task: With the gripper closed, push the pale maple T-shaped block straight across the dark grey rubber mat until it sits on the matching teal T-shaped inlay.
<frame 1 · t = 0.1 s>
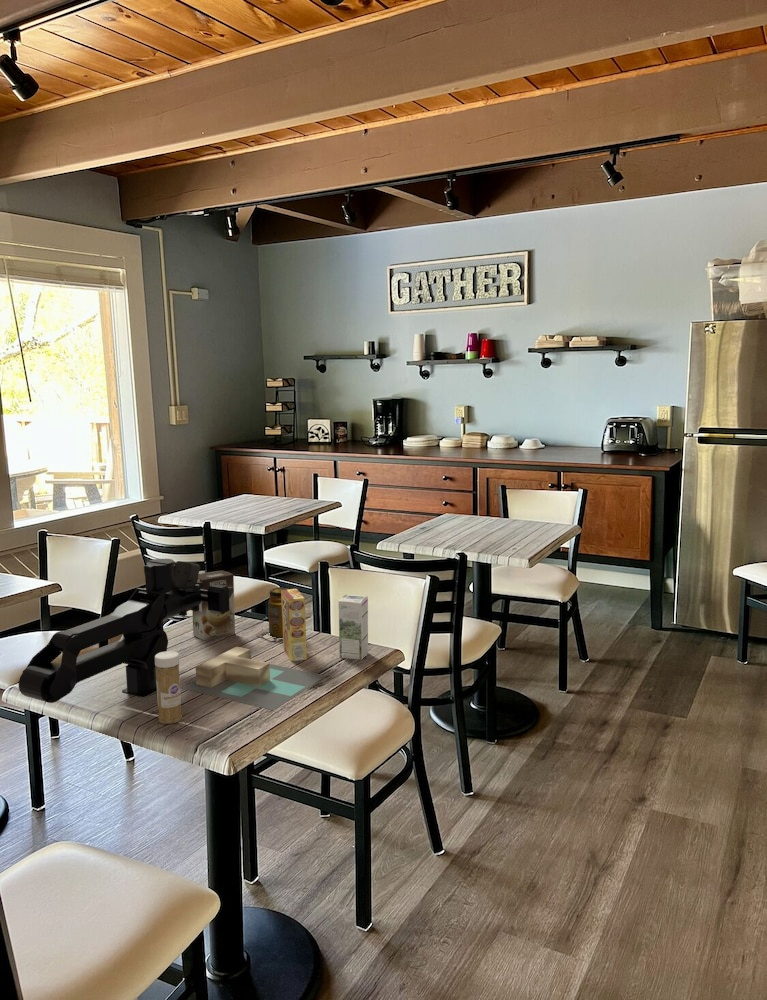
hand: (217, 586, 185), 17 cm above the table, tool horizontal, fingers open, 9 cm apart
push mat: (255, 683, 169), on the table
coffee box: (214, 635, 201), on the table
sprinkles bottle: (170, 720, 152), on the table
candy box: (294, 656, 186), on the table
condiment: (277, 636, 200), on the table
syrup box: (354, 657, 185), on the table
t block: (233, 676, 172), resting on push mat
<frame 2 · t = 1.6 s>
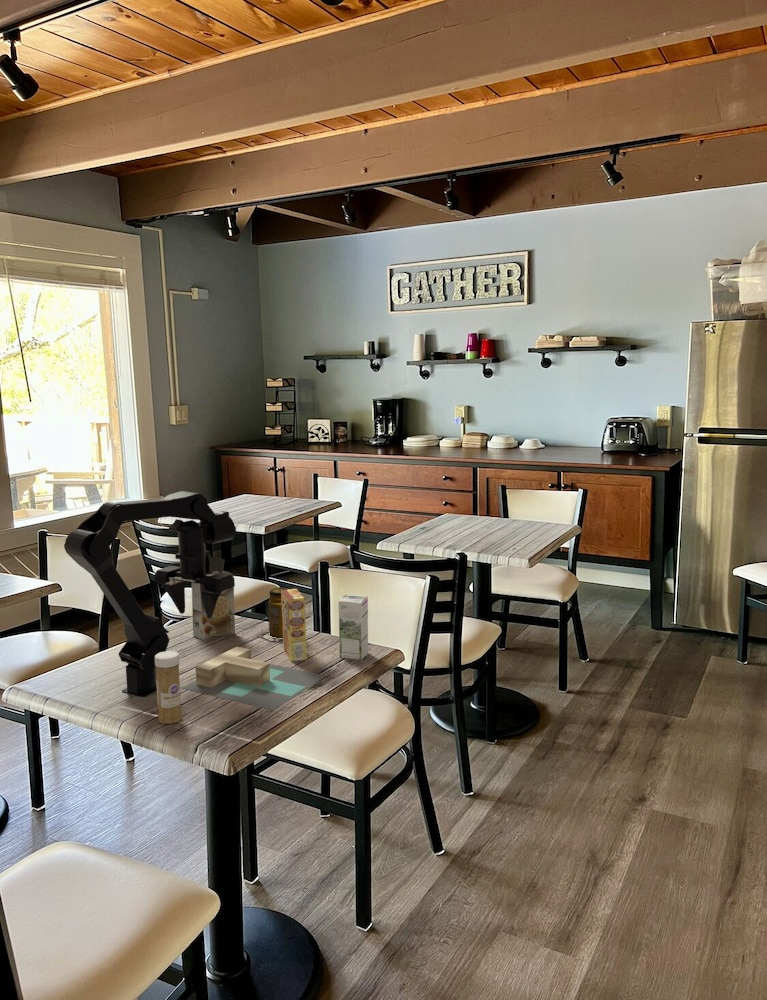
hand: (196, 615, 175), 13 cm above the table, tool pointing down, fingers open, 8 cm apart
nothing on the table moved.
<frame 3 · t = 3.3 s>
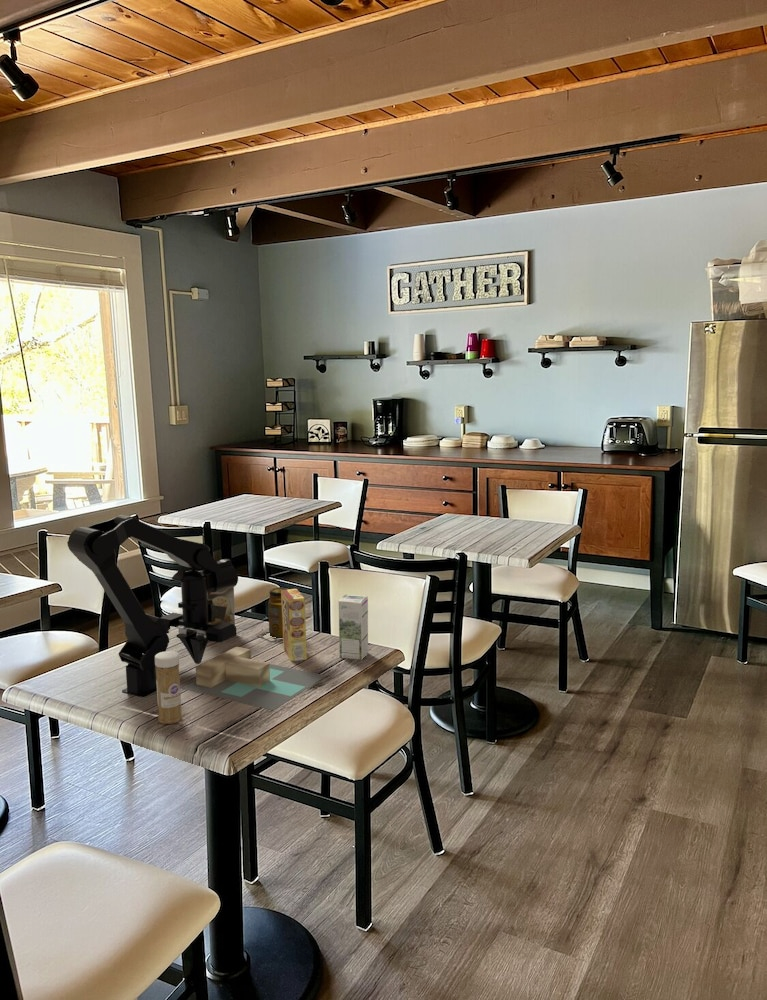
hand: (198, 663, 177), 2 cm above the table, tool pointing down, fingers closed
nothing on the table moved.
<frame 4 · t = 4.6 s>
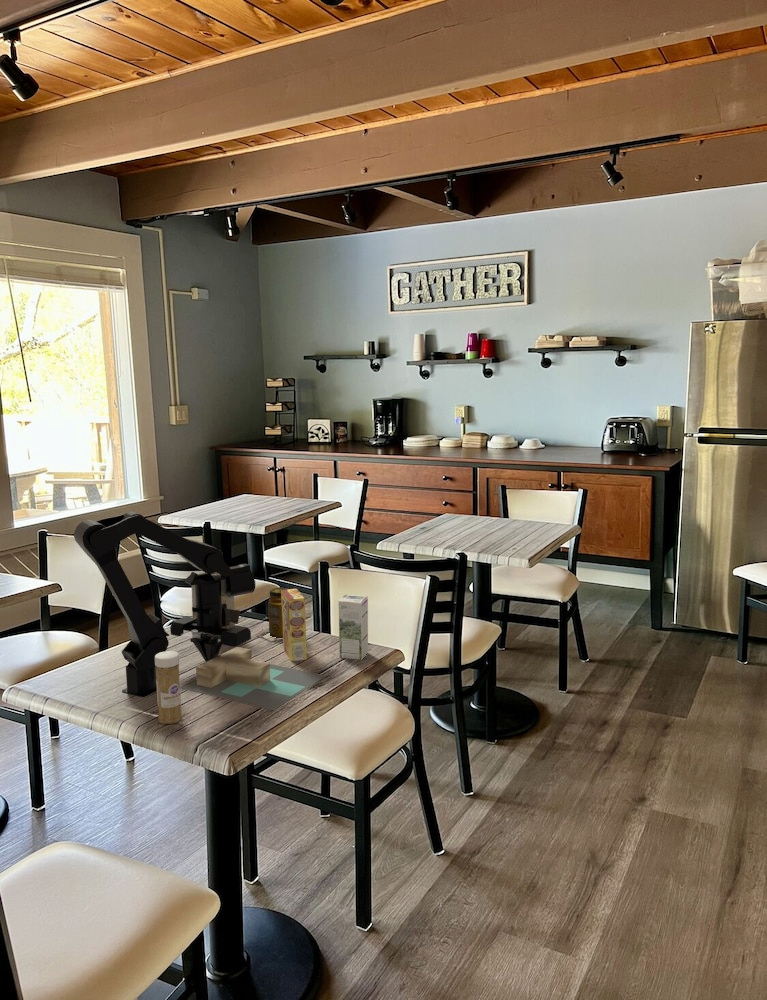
hand: (211, 667, 175), 1 cm above the table, tool pointing down, fingers closed
t block: (233, 677, 172), resting on push mat, touching gripper
everything else where it was.
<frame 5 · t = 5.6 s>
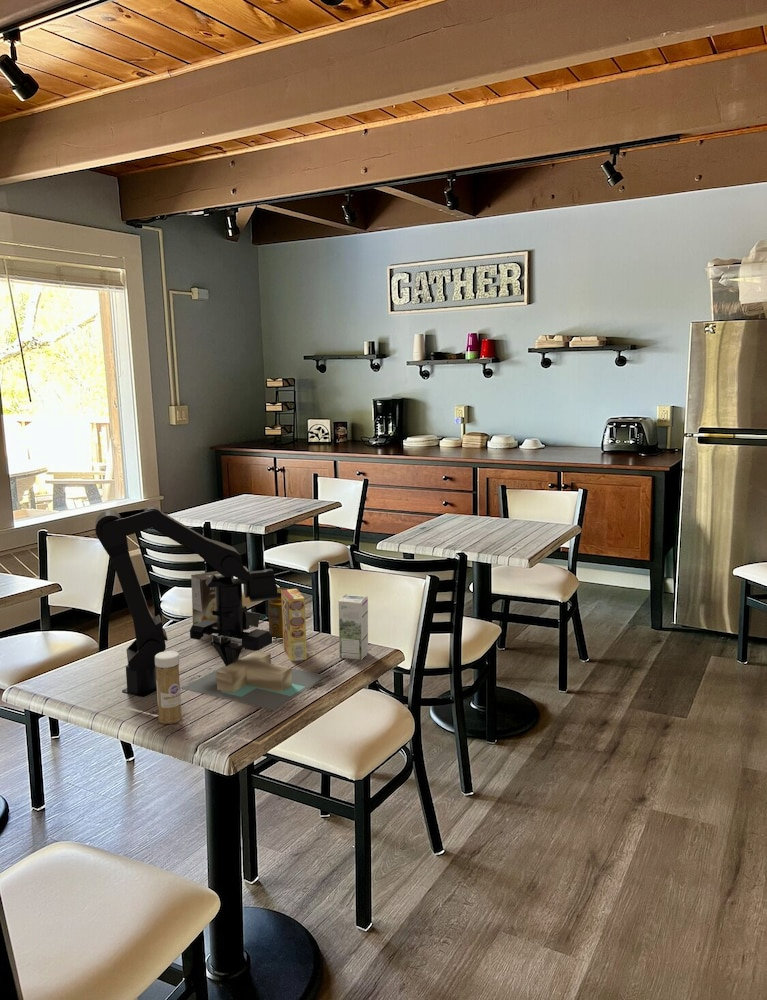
hand: (231, 671, 172), 2 cm above the table, tool pointing down, fingers closed
t block: (254, 681, 169), resting on push mat, touching gripper
everything else where it was.
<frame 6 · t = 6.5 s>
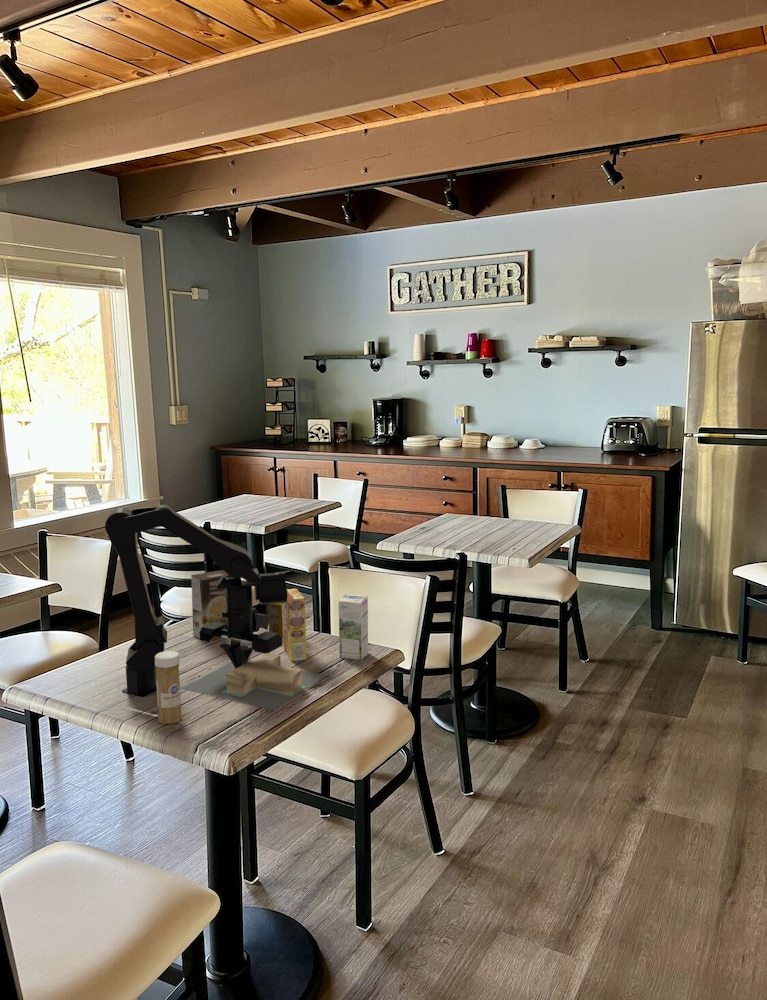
hand: (241, 674, 171), 1 cm above the table, tool pointing down, fingers closed
t block: (264, 684, 168), resting on push mat, touching gripper
everything else where it was.
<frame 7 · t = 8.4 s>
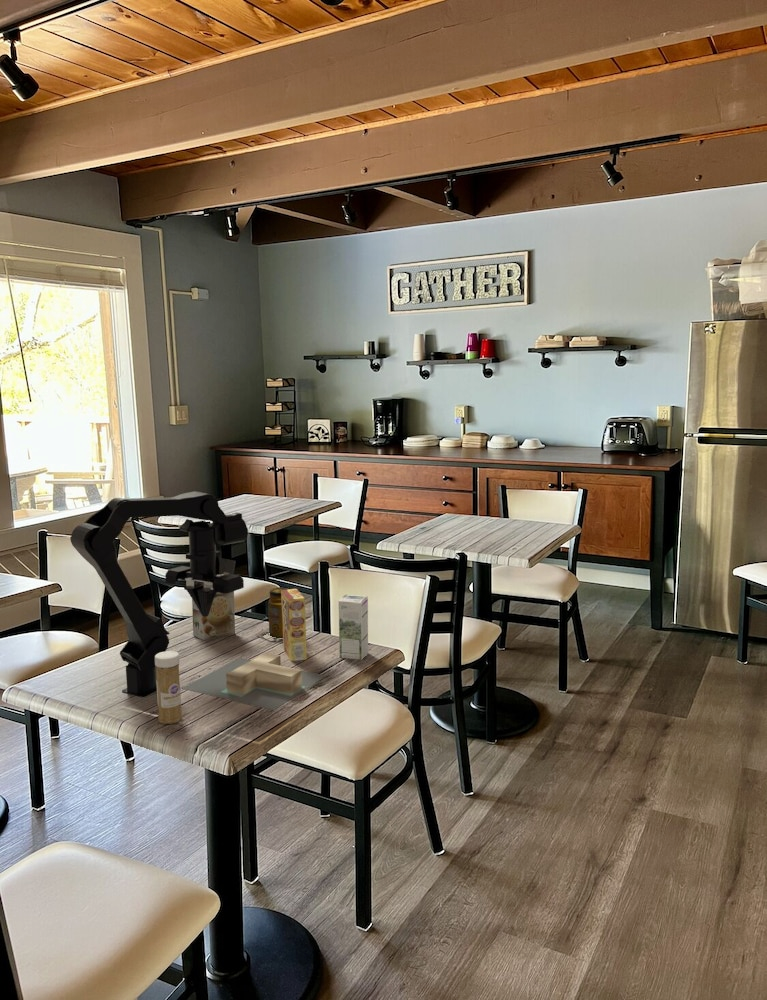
hand: (205, 616, 175), 13 cm above the table, tool pointing down, fingers closed
t block: (264, 684, 168), resting on push mat
everything else where it was.
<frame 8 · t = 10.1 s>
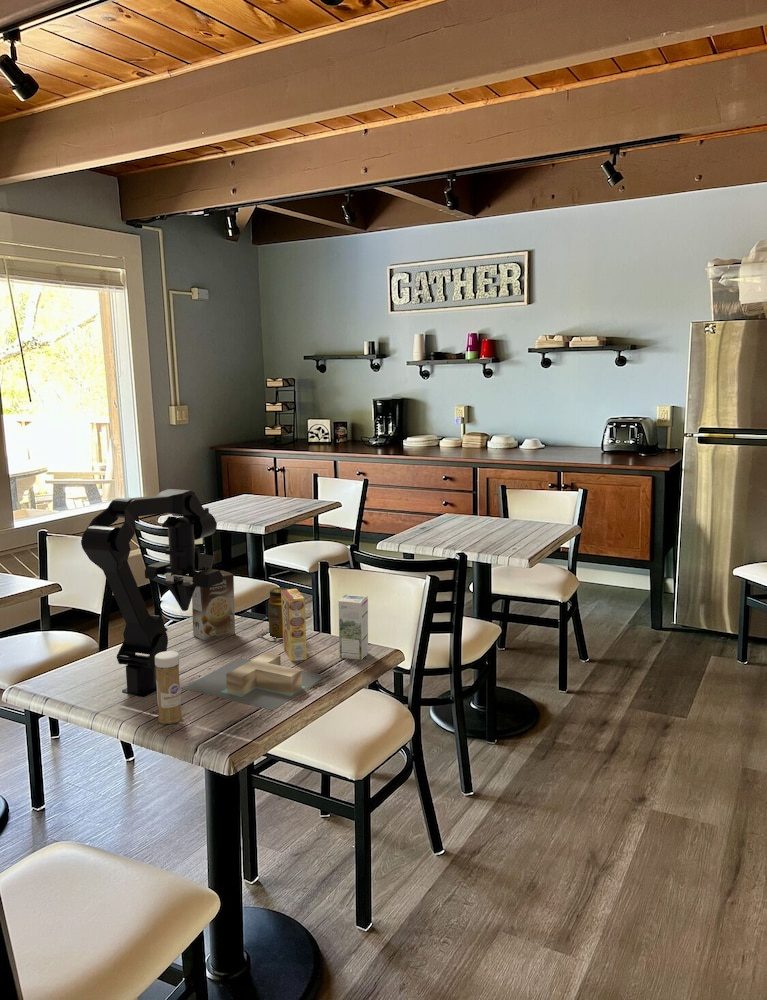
hand: (185, 610, 179), 13 cm above the table, tool pointing down, fingers closed
nothing on the table moved.
at the end: t block 0.5 cm from the target spot, resting on push mat; t block tilted 0°; t block moved 8.5 cm from its start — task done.
